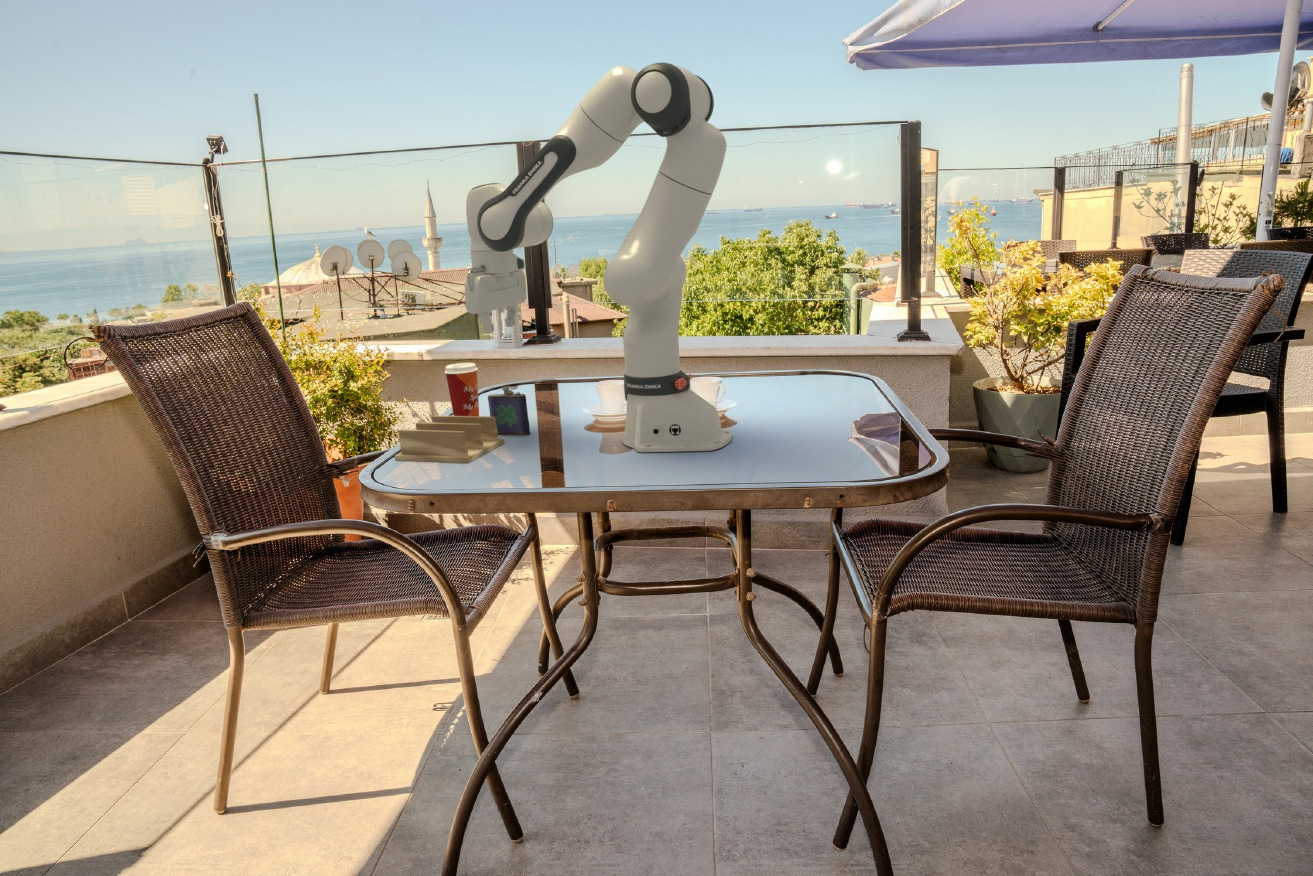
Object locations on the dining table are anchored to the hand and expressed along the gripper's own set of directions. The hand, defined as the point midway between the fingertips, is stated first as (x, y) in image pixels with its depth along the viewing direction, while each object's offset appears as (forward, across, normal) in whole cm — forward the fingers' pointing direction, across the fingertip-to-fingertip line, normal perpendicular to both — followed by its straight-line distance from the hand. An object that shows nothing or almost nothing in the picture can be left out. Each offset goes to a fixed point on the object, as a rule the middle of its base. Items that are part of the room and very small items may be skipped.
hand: (500, 329), depth 186 cm
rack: (+23, -15, +6) cm, 28 cm away
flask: (+23, 0, 0) cm, 23 cm away
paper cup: (+23, +8, +16) cm, 29 cm away
